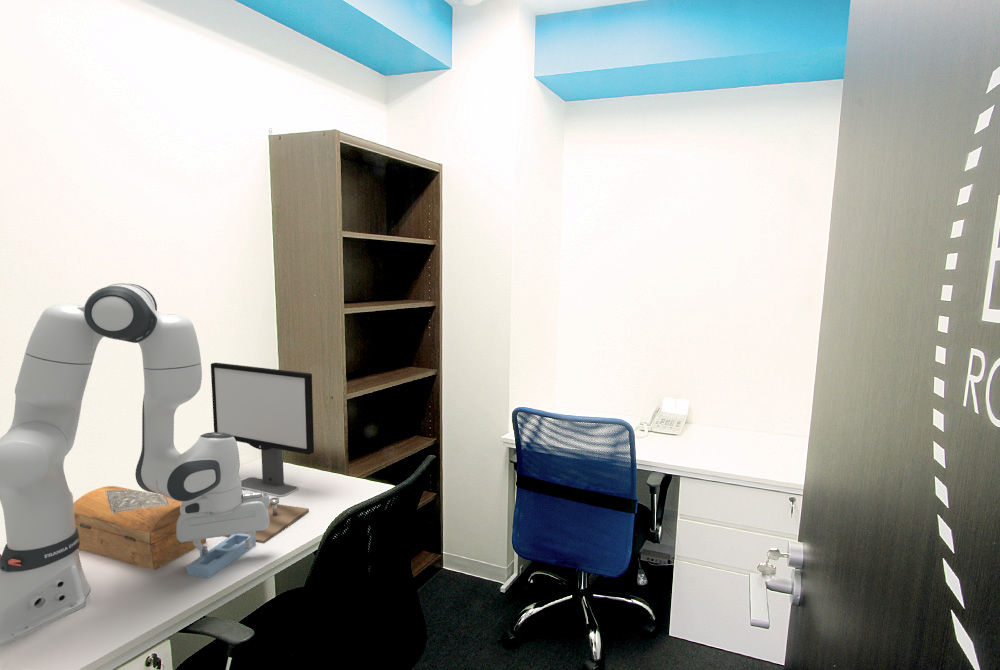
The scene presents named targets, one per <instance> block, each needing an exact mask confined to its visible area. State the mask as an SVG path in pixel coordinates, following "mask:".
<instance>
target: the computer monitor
mask: <svg viewBox="0 0 1000 670" xmlns="http://www.w3.org/2000/svg"><path fill="white" fill-rule="evenodd" d="M210 376H211V377H210V379H211V398H212V400H211V401H212V415H213V417H212V418H213V432H218V433H226V434H230V435H232V436H233V437H234V438H235V440H236V442H239V443H244V444H247V445H250V447H252V448H254V449H257V450H261V451H260V452H261V473H262V478H261V477H256V476H250V477H249V476H248V477H245V478H243V479H241V485H242V490H246V491H250V492H254V493H258V492H262V494H266V495H267V496H272V497H275V498H283V497H286V496H289V495H291V494H293V493H295V492H296V491H299V486H297V485H294V484H289V483H285V481H284V480H285V477H284V476H285V475H284V451H288V452H294V453H298V454H303V455H309V456H310V455H311V454H314V453H315V446H314V445H315V442H314V441H315V440H314V437H315V436H314V409H313V408H314V403H313V401H314V400H313V374H312V373H309V372H301V371H295V370H287V369H286V370H284V369H276V368H269V367H268V368H267V367H266V368H265V367H258V366H249V365H239V364H231V363H223V362H212V363H210Z"/></svg>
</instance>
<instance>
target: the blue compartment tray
mask: <svg viewBox="0 0 1000 670" xmlns="http://www.w3.org/2000/svg"><path fill="white" fill-rule="evenodd" d="M249 538H250V536H249V534H241V533H240V534H234V535H231V536H230V537H226V539H223V541H221V542H220V543H218V544H217V545H215V546H213V547H212V548H211V549H208V553H207V555H204V556H200V555H199V557H198V558H196V559H195V560H193V561H192V562H190V563H189V564H187V565H186V575H188V576H193V577H194V576H195V577H201V578H208V579H210V578H212V577H213V576H214V575H216V574H217V573H219V572H220V571H222V570H223V569H224V568H225V567H227V566H229V565H230V564H232V562H234V561H235V560H237V559H238V558H240V557H241V556H242V555H244V554H246V553H247V552H248V551H249V550H251V549H252V548H254V547H255V546H257V544H256V543H257V542H256V539H255V536H254V538H253V540H252V548H249V549H245V540H247V539H249Z"/></svg>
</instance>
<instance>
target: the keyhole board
mask: <svg viewBox="0 0 1000 670" xmlns="http://www.w3.org/2000/svg"><path fill="white" fill-rule="evenodd" d="M268 512H269V519H270V522H269V526H268V527H267V528H266V529H265V530H260V531H256V533H255V539H256V543H261V544H265V543H267V542H268V541H270V540H271V539H272V538H274V537H275V536H277V535H278V534H280V533H281V532H283V531H285V530H286V529H288V528H289V527H290V526H291V525H293V524H294V523H296V522H298V520H300V519H301V518H302V517H305V515H307V514H308V513H309V512H310V508H307V507H299V506H292V505H287V504H286V505H285V504H279V503H278V504H277V515H275V516H273V512H272V505H271V504H270V502H269V507H268ZM288 526H289V527H288ZM285 528H286V529H285ZM282 530H283V531H282ZM241 534H249V532H247V533H241ZM230 536H231V535H227V536H224V538H228V537H230Z"/></svg>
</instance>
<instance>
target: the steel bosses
mask: <svg viewBox="0 0 1000 670" xmlns="http://www.w3.org/2000/svg"><path fill="white" fill-rule="evenodd" d="M269 503H270V504H271V505H272V512H273V516H275V515H277V504H279V503H280V497H272V498H269Z"/></svg>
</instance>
